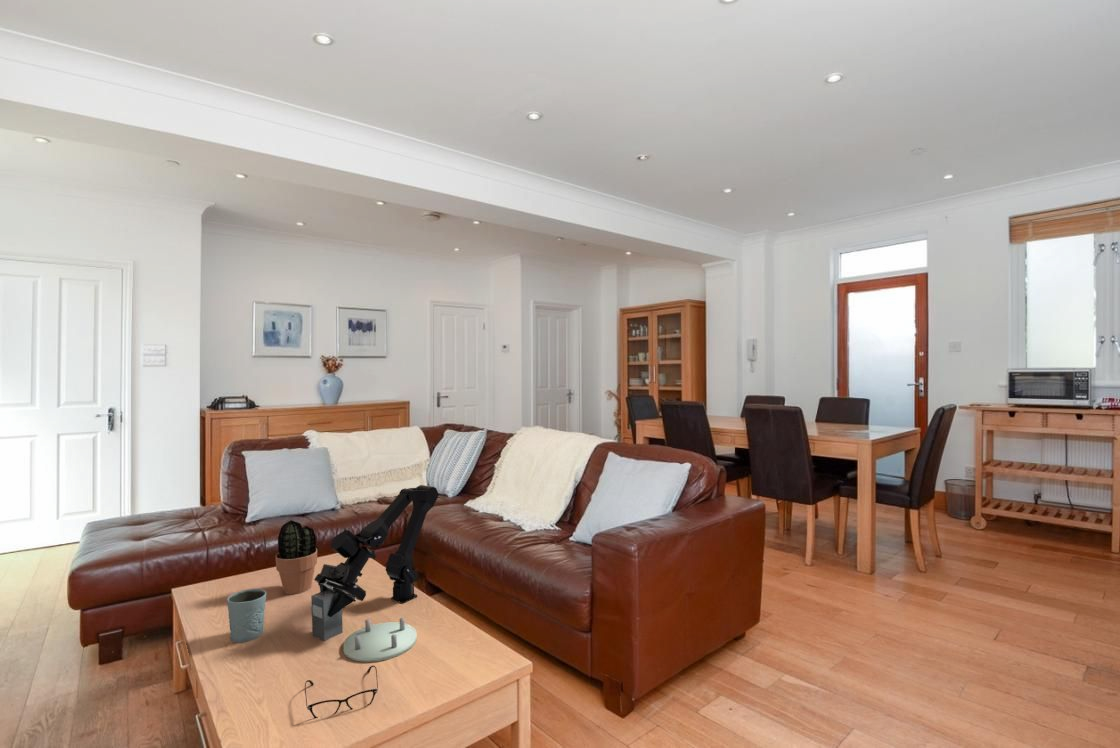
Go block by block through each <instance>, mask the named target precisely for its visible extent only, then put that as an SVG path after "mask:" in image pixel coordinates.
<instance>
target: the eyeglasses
mask: <svg viewBox="0 0 1120 748" xmlns="http://www.w3.org/2000/svg"><path fill="white" fill-rule="evenodd" d="M373 667H374V669H375V675H376V679H378V672H377V671H378V669H377V667H376V666H375V665H371V666H369V667H368V669H367V671H366V673H367V674H369V673H371V669H372V668H373ZM307 682H308V683H309V684H310V686H311V687H313V686H315V684H314V682H313V681H312V680H310V679H308V680H306V681H305V683H304V694H305V695H304V696H305V705H306V709H307V710H309V712H310V713H311V715H312V717H313V718H314V719H318V718H319V716H316V715H315V713H314V712H313V707H314V706H317V705H321V704H325V703H331V702H333V703H334V702H336V703H338V706H337V709H336V710H335V712H334V713H333V714H334V715H335V714H337V713H338V711H339V710H340V707H341V705H342V703H345V704H346V707H347V708H349V709H350V710H353V709H354V708H353V707H351V706H350V704H349V700H350V699H351V698H354V697H357V696H359V695H361V694H366V693H371V692H372V697H371V700H370V702H369V703H367V706H370V705H371V704H372V703H373V701H374V698H375V696H376V694H377V693H378V691H379V684H378V681H376V688H373V689H367V690H363V691H360V692H357V693H354V694H352V695H350V696H348V697H346V698H344V699H327V700H322V701H317V702H314V703H312V704H309V705H308V701H307V688H306V687H307Z"/></svg>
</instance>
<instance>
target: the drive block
mask: <svg viewBox="0 0 1120 748" xmlns="http://www.w3.org/2000/svg"><path fill="white" fill-rule="evenodd" d="M310 597H311V598H310V599H311V601H310V602H311V631H312V632H311V635H312V637H315V638H316V639H319V640H321V641H323V642H325V641H328V640H330V639H332V638H334V637H336V636H338V635H340V634H342V633H343V609H341V610H340V611H339V612H337V613H336V614H335V615H333V616H332V617H329V616H328V614H329V612H330V610H331V608H332V606H333V605H334V603H335V601H336V599H337V597H338V591H335V590H332V589H327V590H325V591H322V592H320V591H319V592H318V593H314V594H312V595H311V596H310Z"/></svg>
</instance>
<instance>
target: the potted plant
mask: <svg viewBox="0 0 1120 748" xmlns="http://www.w3.org/2000/svg"><path fill="white" fill-rule="evenodd" d="M277 549H278V550H277V551H278V552H277V553H276V554H275V566H276V567H275V568H276V571H277V572H278V574H279V577H280V581H281V585H282V590H283V592H284V593H285V594H288V595H297V594H301V593H305V592H306V591H308V590H310V589H311V588H312V584H313V580H314V572H315V567H316V565H317V564H318V548H317V536H316V533H315V531H314V528H312V527H310V526H308V525H305V526H303V527H302V524H301V523H300V522H297V521H294V520H292V519H291V520H289V521H287V522H286V523H284V524H282V526H281V527H280V531H279V533H278V537H277Z"/></svg>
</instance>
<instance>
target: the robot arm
mask: <svg viewBox="0 0 1120 748" xmlns="http://www.w3.org/2000/svg"><path fill="white" fill-rule="evenodd" d="M438 498H439V491H438V489H437V487H435V486H429V485H423V484H419V485H418V486H416V487H408V488H402V489H401V490H400V491H399V494H398V495H396V497H395V498H394V499H393V500H392V502H391V503H390V504H389V506H387V507H386V509H384V511H383V512H382V513H381V514H380V516H379V517H378V518H376V519H375V520H373V521H371V522H370V523H368V524H367V525H366V526H364V527H363V528H362V529H361V530H360V532H357V533H355V534H353V533H352V531H350V530H349V529H344V530H343V531H341V532H340V533H338V534H337V535H335V537H333V538H332V540H331V542H330V548H331V550H333V551H334V552H335V553H337V554H338V555H340V556H342V558H345V559H346V560H345V562H339V564H337V565H332V564H325V563H323V565H322V567H321V572H320V573H317V575H316V576H315V578H313V580H314V581H315V582H316V583H318V584H317V585H318V586H319V592H322V591H325V590H327V589H332V590H334V589H335V588H337V589H340V590H342V591H340V590H338V597H337V599H336V601H335V603H334V605H333V606H332V608H331V610H330V612H329V614H328V616H329V617H332V616H333V615H335V614H336V613H337V612H339V611H340V610H341V609H342V610H343V609H344V608H346V607H347V606H349V605H351V603H353V602H354V603H355V602H357V600H358V601H360V602H363V601H364V600H365V599H366V596H367V592H366V590H365V589H363V588H362V587H361V586H359V585H358V584H356V583H355V584H353V583H354V582H355V580H356V578H357V579H358V577H361V578H362V575H363V573H362V570H363V568H364V567H365V565H366V564H367V563H368V561H369V560H370V559H372V560H375V559H376V558H377V557H376V550H374V549H376V548H379V547H381V546H382V545H383V544H384V542H385V541H386V539H387V537H388V535H389V531H390V529H391V527H392V526H393V524H395V522H396V521H397V520H398V518H399V517H400V516H401V515H402V514H403V513H404V511H405V510H406V509H407V508H408V506H409V505H411V503H412V512H411V514H410V517H409V520H408V522H407V525H406V528H405V530H404V533H403V535H402V539H401V542H400V544H399V547H398V549H397V550H396V551H395V552H394V553H393V552H390V553H389V554H388V558H387V561H386V563H385V566H386V567H385V572H386V575H387V576H388V577H389V580H390V581H393V587H392V596H391V597H390V600H392V601H395V602H399V603H401V604H404V603H406V602H409V601H411V600H413V599H415V598H416V597H418V594H417V593H415V582H417V581H418V578H419V573H418V572H417V571H416V570H414V569H413V568H414V557H413V553H414V551H415V547H416V545H417V541H418V538H419V536H420V533H421V530H422V527H423V525H424V522H425V519H426V516H427V514H428V512H429V511H431V509H433V507H434V506H435V505H436V502H437V500H438ZM361 545H362V546H361ZM368 547H370V549H369V548H368ZM372 548H373V549H372ZM337 585H338V586H337Z"/></svg>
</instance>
